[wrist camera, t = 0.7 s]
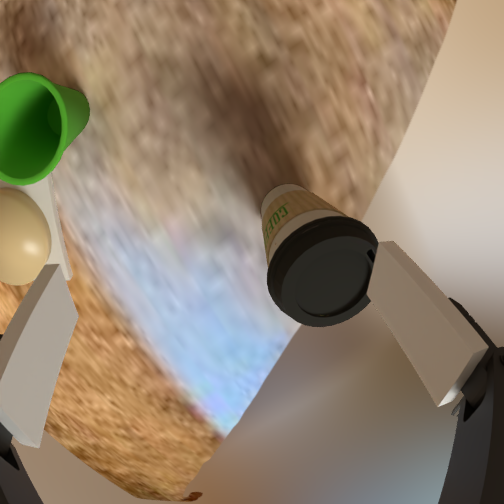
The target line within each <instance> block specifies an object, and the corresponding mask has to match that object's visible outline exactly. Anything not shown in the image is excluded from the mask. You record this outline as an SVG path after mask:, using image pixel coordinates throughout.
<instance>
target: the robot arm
mask: <svg viewBox="0 0 504 504" xmlns="http://www.w3.org/2000/svg"><path fill="white" fill-rule="evenodd" d="M367 296H368V297H369V299H370V300H371V302H372V303H373V305H374V306H375V307H376V309H377V311H378V312H379V313H380V315H381V316H382V318H383V320H384V321H385V323H386V324H387V326H388V327H389V329H390V330H391V332H392V333H393V335H394V336H395V338H396V339H397V341H398V343H399V344H400V346H401V347H402V349H403V351H404V352H405V354H406V355H407V357H408V359H409V360H410V362H411V364H412V365H413V367H414V368H415V370H416V372H417V373H418V375H419V376H420V378H421V380H422V382H423V383H424V385H425V387H426V388H427V390H428V392H429V393H430V395H431V397H432V399H433V400H434V402H435V404H436V406H437V407H439V406H441V405H444V404H446V403H448V402H451V401H453V400H454V398H455V397H456V396H457V394H458V393H459V392H460V390H461V391H462V393H463V394H464V397H463V398H462V399H461V400H460V402H459V403H458V404H457V406H456V407H455V408H454V409H453V411H452V414H451V415H454V414H455V413H456V412H457V410H458V409H459V408H460V409H459V414H458V415H457V416H458V422H457V428H456V434H455V439H454V444H453V449H452V454H451V458H450V462H449V466H448V471H447V474H446V478H445V482H444V486H443V489H442V493H441V496H440V499H439V502H438V504H504V347H499V348H497V347H496V346H495V344H494V343H493V342H492V341H491V339H490V338H489V337H488V336H487V335H486V333H485V332H484V331H483V330H482V329H481V327H480V326H479V325H478V324H477V323H475V320H474V319H473V318H472V317H471V316H470V315H469V313H468V312H467V311H466V310H465V309H464V308H463V307H462V305H461V304H459V303H458V302H456V301H455V300H453V299H451V298H447V297H446V296H445V295H444V293H443V292H442V291H441V290H440V289H439V288H438V287H437V286H436V285H435V283H433V281H432V280H431V279H430V278H429V277H428V276H427V275H426V274H425V273H424V272H423V271H422V270H421V269H420V268H419V266H417V264H416V263H415V262H414V261H413V260H412V259H411V258H410V257H409V256H408V255H407V254H406V253H405V252H404V251H403V250H402V249H401V248H400V247H399V246H398V245H397V244H396V243H395V242H394V241H387V242H379V244H378V248H377V253H376V257H375V262H374V266H373V270H372V274H371V278H370V282H369V286H368V290H367ZM78 317H79V316H78V313H77V311H76V308H75V305H74V303H73V300H72V297H71V295H70V292H69V289H68V286H67V283H66V280H65V277H64V274H63V271H62V268H61V265H60V264H46V265H44V267H43V268H42V270H41V271H40V273H39V274H38V276H37V278H36V279H35V281H34V282H33V284H32V286H31V287H30V289H29V290H28V292H27V294H26V295H25V297H24V299H23V300H22V302H21V304H20V306H19V307H18V309H17V311H16V313H15V314H14V316H13V318H12V320H11V322H10V323H9V325H8V327H7V329H6V331H5V333H4V335H3V334H0V504H43V502H42V500H41V498H40V497H39V495H38V493H37V491H36V490H35V488H34V486H33V484H32V482H31V480H30V478H29V476H28V474H27V472H26V471H25V468H24V466H23V464H22V462H21V460H20V458H19V456H18V453H17V451H16V449H15V447H14V446H13V445H12V443H11V440H12V436H14V437H15V438H16V439H17V440H18V441H19V442H20V443H21V444H23V445H27V446H31V447H36V448H39V447H40V442H41V438H42V434H43V430H44V426H45V421H46V417H47V413H48V410H49V406H50V402H51V399H52V395H53V391H54V388H55V385H56V381H57V378H58V375H59V371H60V368H61V365H62V362H63V359H64V356H65V353H66V350H67V347H68V344H69V341H70V339H71V336H72V333H73V330H74V327H75V325H76V322H77V319H78Z"/></svg>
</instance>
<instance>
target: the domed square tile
mask: <svg viewBox="0 0 504 504" xmlns="http://www.w3.org/2000/svg"><path fill="white" fill-rule="evenodd" d="M46 264H60V265H61V268H62V271H63V274H64V277H65V280H71V278H72V276H73V274H72V270H71V266H70V263H69V259H68V255H67V251H66V247H65V242H64V238H63V234H62V229H61V224H60V220H59V215H58V209H57V204H56V198H55V193H54V186H53V180H52V173H51V172H50V173H49V174H48V175H47V176H46V177H45V178H44V179H42V180H40V181H38V182H36V183H34V184H30V185H25V186H20V185H12V184H10V183H7V182H5V181H2V180H1V179H0V281H2V282H4V283H7V284H10V285H24V284H27V283H30V282H31V281H35V279H36V278H37V276H38V274H39V273H40V271H41V270H42V268H43V267H44V265H46Z"/></svg>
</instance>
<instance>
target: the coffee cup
mask: <svg viewBox="0 0 504 504" xmlns="http://www.w3.org/2000/svg"><path fill="white" fill-rule="evenodd" d="M261 216H262V231H263V237H264V244H265V251H266V258H267V264H268V272H267V285H268V290H269V293H270V295H271V297H272V299H273V301H274V302H275V304H276V305H277V306H278V307H279V308H280V310H281V311H283V312H284V313H285V314H287V315H288V316H290V317H291V318H293V319H294V320H295V321H297V322H299V323H301V324H304V325H307V326H312V327H325V326H332V325H335V324H338V323H341V322H344V321H346V320H348V319H350V318H352V317H353V316H355V315H356V314H358V313H359V312H360V311H362V310H363V309H364V308H365V307H366V306H367V305H368V304H369V303H370V302H371V300H370V299H369V297H368V296H367V290H368V286H369V282H370V278H371V274H372V270H373V266H374V262H375V257H376V253H377V248H378V244H379V243H378V241H377V239H376V237H375V235H374V234H373V233H372V231H371V230H370V229H369V227H367V226H366V225H365V224H363V223H362V222H360V221H358V220H356V219H353V218H350V217H348V216H347V215H345V214H344V213H342V212H341V211H339V210H338V209H336V208H335V207H333V206H332V205H330V204H329V203H327V202H326V201H324V200H323V199H321V198H320V197H318V196H317V195H315V194H314V193H311V192H309V191H307V190H305V189H304V188H302V187H301V186H298V185H295V184H284V185H280V186H278V187H275V188H274V189H272V190H271V191H270V192H269V193H268V194H267V195H266V197H265V198H264V200H263V202H262V206H261Z"/></svg>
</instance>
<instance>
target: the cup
mask: <svg viewBox="0 0 504 504" xmlns="http://www.w3.org/2000/svg"><path fill="white" fill-rule="evenodd" d="M89 116H90V108H89V103H88V101H87V99H86V97H85V96H84V95H83V94H82V93H80V92H79V91H76V90H73V89H70V88H67V87H64V86H61V85H58V84H54V83H52V82H51V81H50V80H48V79H47V78H45V77H44V76H42V75H39V74H36V73H32V72H27V73H18V74H16V75H13V76H10V77H8V78H7V79H6V80H4V81H3V82H1V83H0V179H1V180H2V181H5V182H7V183H10V184H12V185H20V186H25V185H30V184H34V183H36V182H38V181H40V180H42V179H44V178H45V177H46V176H47V175H48V174H49V173H50V172H52V171H53V169H54V168H55V166H56V165H57V164H58V162H59V161H60V159H61V157H62V154H63V152H64V150H65V149H66V148H67V147H68V146H69V145H70V144H71V142H72V141H73V140H74V139H75V138H76V137H77V136H78V135H79V134H80V133H81V131H82V130H83V129H84V128H85V126H86V124H87V122H88V120H89Z"/></svg>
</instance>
